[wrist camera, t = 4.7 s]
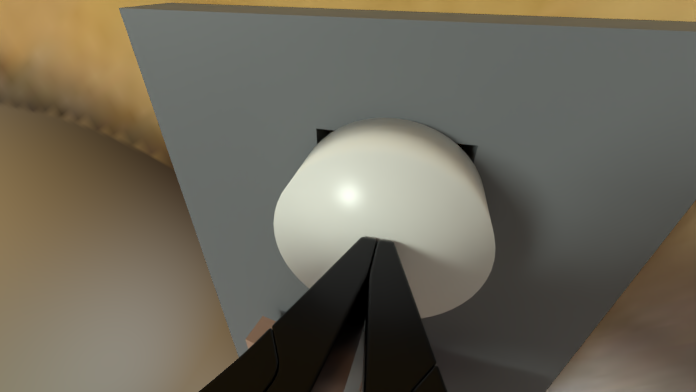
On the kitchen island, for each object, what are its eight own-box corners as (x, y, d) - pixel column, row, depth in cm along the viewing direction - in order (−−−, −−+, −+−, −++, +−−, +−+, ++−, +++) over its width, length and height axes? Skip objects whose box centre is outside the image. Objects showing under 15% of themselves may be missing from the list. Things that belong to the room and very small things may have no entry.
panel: (738, 23, 7) (831, 38, 6) (469, 449, 23) (471, 488, 21) (170, 2, 10) (114, 8, 8) (273, 397, 25) (261, 428, 24)
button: (498, 103, 9) (531, 169, 6) (458, 245, 12) (464, 336, 9) (313, 88, 10) (259, 138, 7) (320, 223, 13) (284, 298, 10)
